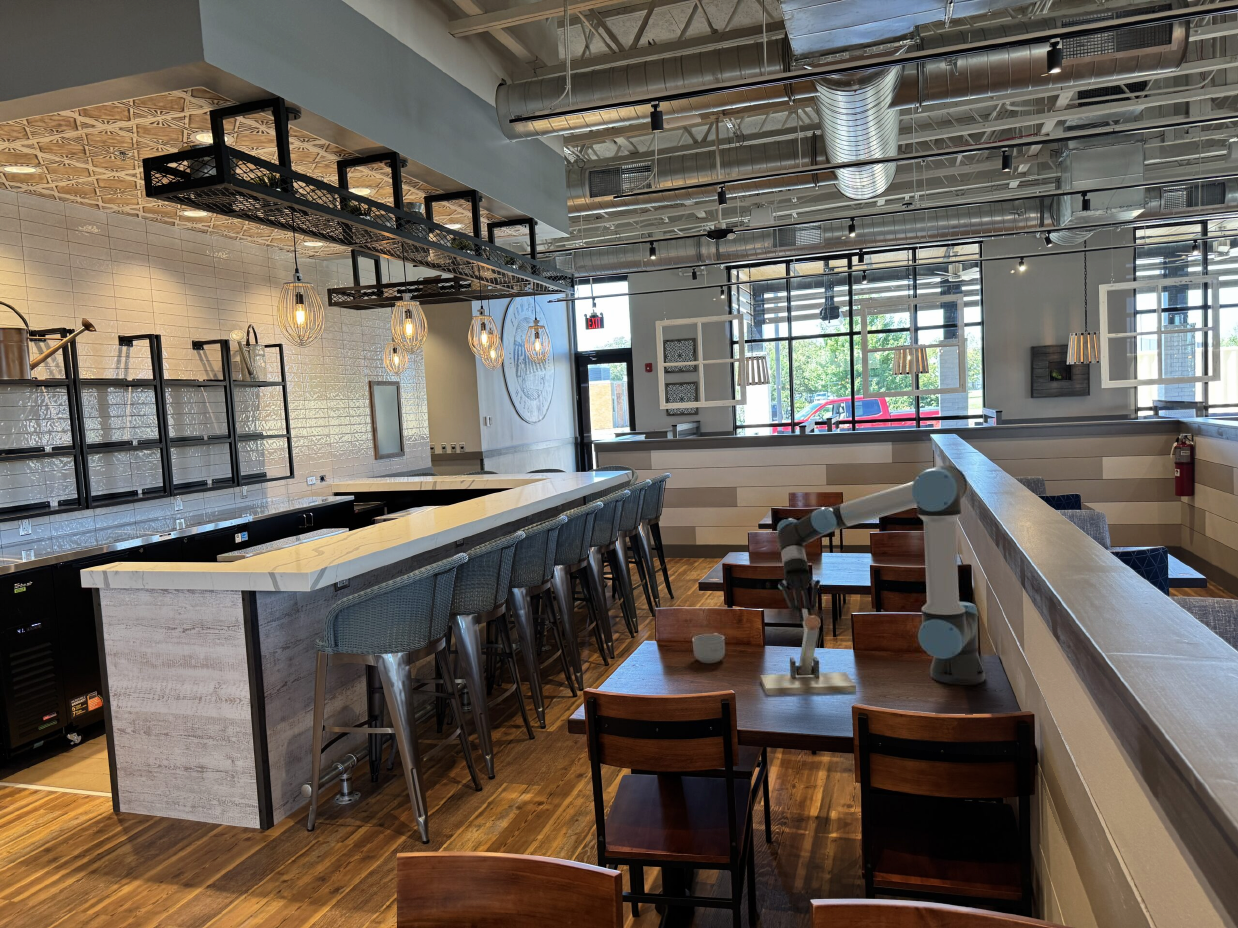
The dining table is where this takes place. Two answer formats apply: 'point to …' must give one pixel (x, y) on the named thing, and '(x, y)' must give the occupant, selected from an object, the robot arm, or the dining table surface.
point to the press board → (807, 682)
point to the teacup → (709, 647)
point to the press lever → (808, 646)
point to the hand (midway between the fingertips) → (807, 630)
